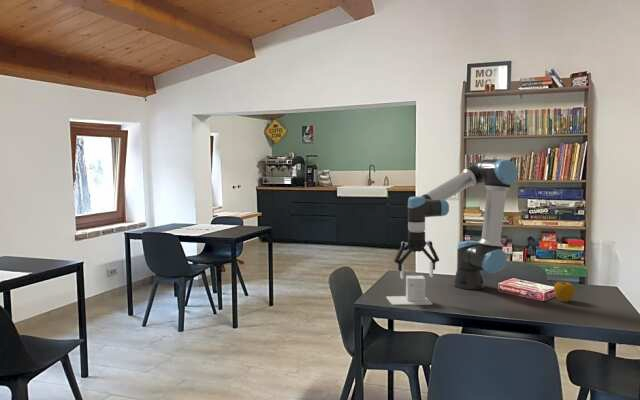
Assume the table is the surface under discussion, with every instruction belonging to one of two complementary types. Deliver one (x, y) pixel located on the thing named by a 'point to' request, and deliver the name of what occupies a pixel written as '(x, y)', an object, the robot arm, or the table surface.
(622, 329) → the table surface
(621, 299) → the table surface
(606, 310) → the table surface
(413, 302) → the felt mat
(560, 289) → the apple
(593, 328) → the table surface
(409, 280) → the small box
